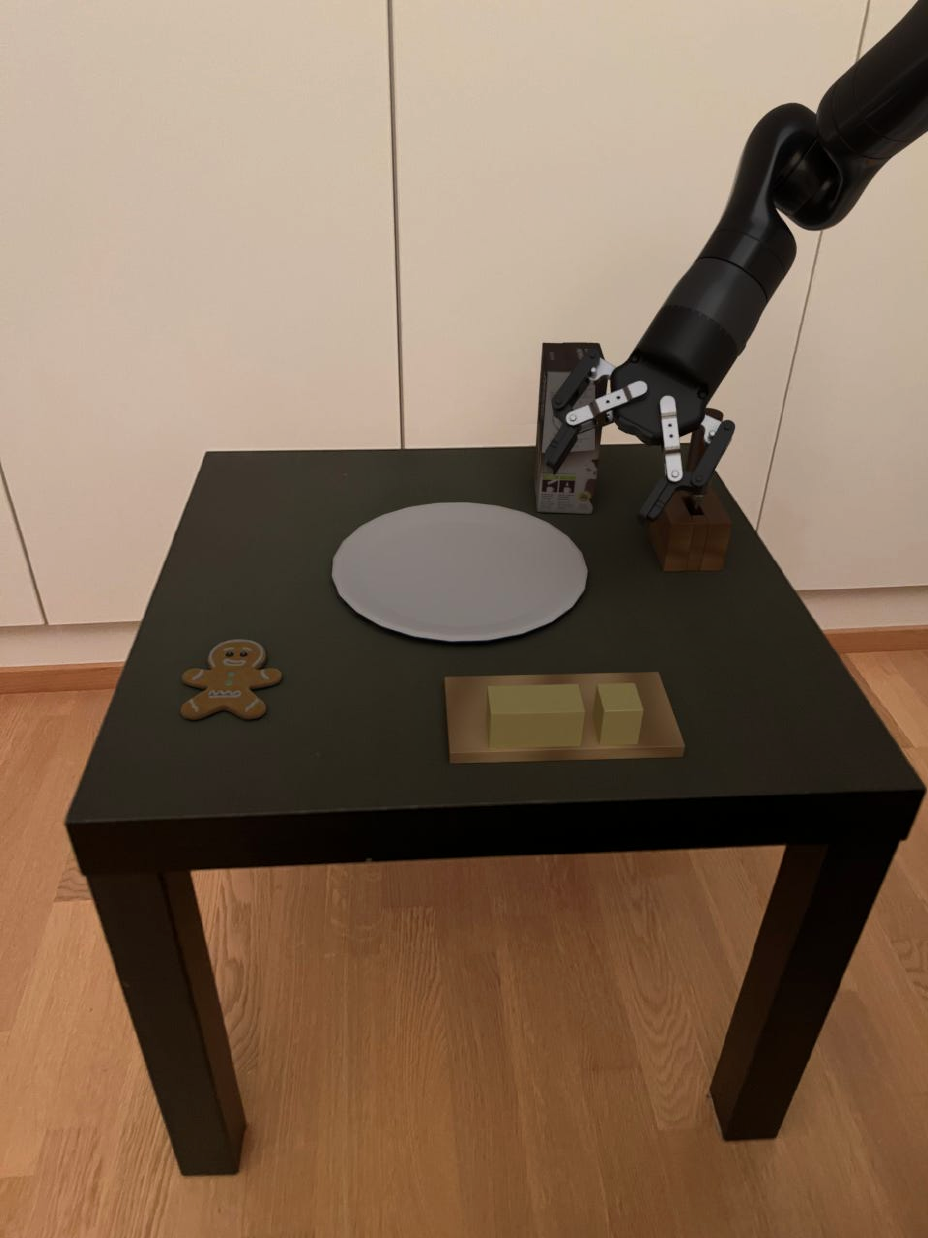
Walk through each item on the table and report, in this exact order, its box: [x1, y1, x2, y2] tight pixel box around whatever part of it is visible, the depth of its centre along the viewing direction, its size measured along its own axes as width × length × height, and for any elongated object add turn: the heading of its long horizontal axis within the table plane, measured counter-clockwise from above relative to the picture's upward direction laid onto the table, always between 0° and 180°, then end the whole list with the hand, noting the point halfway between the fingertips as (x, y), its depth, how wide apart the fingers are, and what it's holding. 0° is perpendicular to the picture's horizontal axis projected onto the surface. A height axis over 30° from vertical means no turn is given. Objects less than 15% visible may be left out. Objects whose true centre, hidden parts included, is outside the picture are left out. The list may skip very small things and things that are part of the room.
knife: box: [684, 407, 725, 515], centre depth 93 cm, size 3×3×15 cm
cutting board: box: [443, 671, 686, 765], centre depth 76 cm, size 18×9×1 cm, turn 93°
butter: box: [486, 684, 585, 748], centre depth 72 cm, size 7×3×4 cm, turn 94°
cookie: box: [179, 639, 283, 721], centre depth 79 cm, size 8×1×10 cm
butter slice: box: [592, 683, 644, 745], centre depth 72 cm, size 3×3×4 cm
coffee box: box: [533, 341, 609, 515], centre depth 102 cm, size 9×6×16 cm
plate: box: [331, 501, 588, 644], centre depth 93 cm, size 25×25×1 cm
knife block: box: [647, 488, 733, 572], centre depth 96 cm, size 6×7×6 cm
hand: (594, 496), depth 77 cm, fingers open, 8 cm apart
